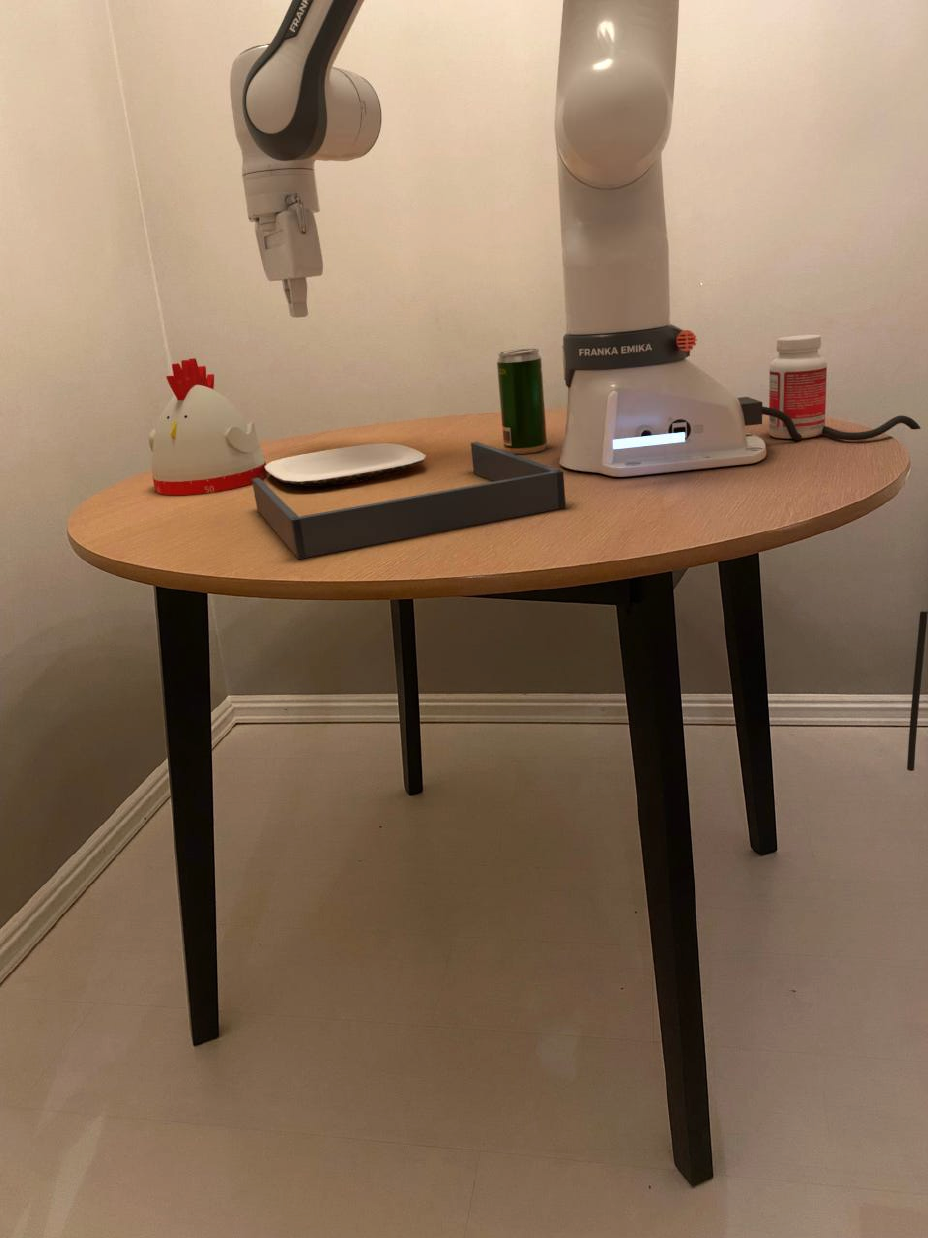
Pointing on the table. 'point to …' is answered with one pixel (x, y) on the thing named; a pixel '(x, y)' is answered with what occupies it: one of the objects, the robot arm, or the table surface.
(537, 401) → the beer can
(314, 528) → the tray
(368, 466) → the plate
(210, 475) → the kitchen timer
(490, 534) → the table surface
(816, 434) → the pill bottle
